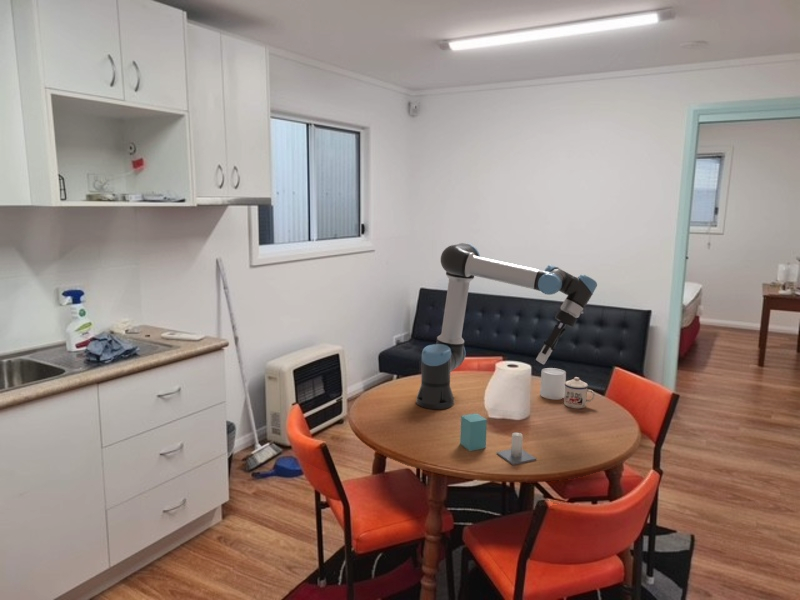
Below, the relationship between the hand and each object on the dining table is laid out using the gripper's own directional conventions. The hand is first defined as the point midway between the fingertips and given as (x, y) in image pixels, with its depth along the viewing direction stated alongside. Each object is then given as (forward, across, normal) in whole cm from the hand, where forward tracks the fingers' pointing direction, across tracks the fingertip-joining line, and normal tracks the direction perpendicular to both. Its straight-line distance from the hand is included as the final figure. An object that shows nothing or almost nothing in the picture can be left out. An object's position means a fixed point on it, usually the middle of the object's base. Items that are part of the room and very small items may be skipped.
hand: (539, 362), depth 214 cm
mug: (+9, +35, -10) cm, 38 cm away
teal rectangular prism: (+36, -26, +3) cm, 44 cm away
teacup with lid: (+7, +25, -20) cm, 33 cm away
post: (+30, -29, -11) cm, 44 cm away
